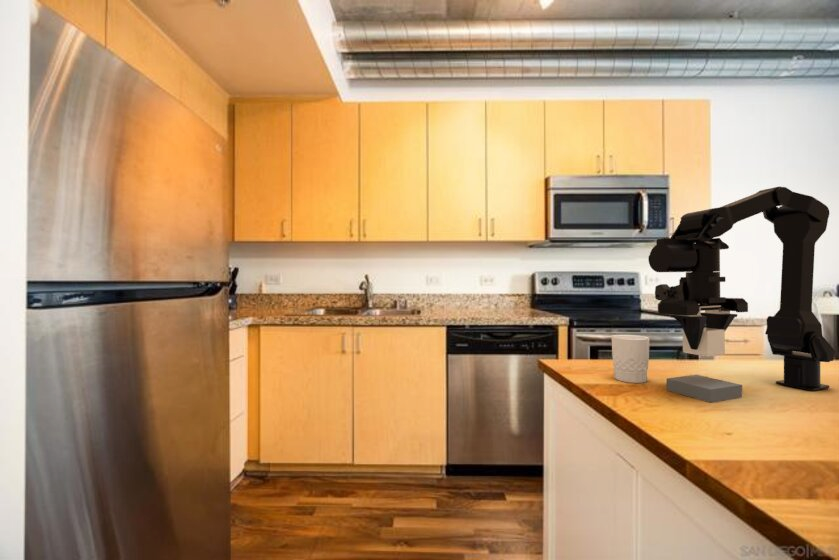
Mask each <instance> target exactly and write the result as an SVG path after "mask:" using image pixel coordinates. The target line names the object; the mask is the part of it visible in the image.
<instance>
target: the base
mask: <svg viewBox="0 0 839 560" xmlns="http://www.w3.org/2000/svg"><path fill="white" fill-rule="evenodd" d="M667 390H668V392H671V393H675V394H679V395H683V396H685V397H689V398H691V399H692V398H693V399H696V400H699V401H703V402H708V403H717V402H723V401H729V400H736V399H740V398H743V384H740V383H736V382H731V381H727V380H723V379H719V378H713V377H708V376H703V375H700V374H690V375H683V376H676V377H675V376H673V377H667V378H666V391H667Z"/></svg>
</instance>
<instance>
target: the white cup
mask: <svg viewBox="0 0 839 560" xmlns="http://www.w3.org/2000/svg"><path fill="white" fill-rule="evenodd" d="M650 341H651V340H650V337H648V336H643V335H636V334H613V335H611V350H612V351H611V352H612V353H611V354H612V356H611V357H612V364H613V365H612V366H613V376H614V379H615V380H617V381H620V382H624V383H631V384H632V383H633V384H643V382H644V383H646V382H647V381H648V370H649V360H650Z"/></svg>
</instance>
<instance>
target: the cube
mask: <svg viewBox="0 0 839 560" xmlns="http://www.w3.org/2000/svg"><path fill="white" fill-rule="evenodd" d="M725 333H726V331H725V330H723V329H713V328H706V327H704V329H703V333H702V337H701V340H700V344H699V346H698V349H697V350H694V349H691V348H690V345H689V343H688V340H687V338H686V335H685V333H684V330H683V329H682V353H685V354H692V355H697V356H702V357H703V356H704V357H708V358H709V357H717V356H724V355H726V347H725V346H726V344H725V343H726V341H725V339H726V338H725V335H726V334H725Z"/></svg>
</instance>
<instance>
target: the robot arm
mask: <svg viewBox="0 0 839 560" xmlns="http://www.w3.org/2000/svg"><path fill="white" fill-rule="evenodd" d="M761 213H762V215H763V218H764V219H765V220H767V221H768V222H770V223H771V224H772V225H773V231H774V232H773V233H774V234H775V235H776V237H777V238H778V239H779V240H780V242H781V243H782V255H781V257H782V258H781V260H782V261H781V263H782V264H781V280H780V281H781V282H780V298H779V299H780V301H779V304H780V305H779V309H778V310H777V312H776V313H775V314H774V315H769V316H767V318H766V330H765V333H764V334H765V335H767V337H766V338H767V341H768V343H769V347H770V350H771V353H772V355H774V356H782V357H783V379H782V380H775V384H778V385H783V386H786V387H791V388H796V389H800V390H801V389H802V390H804V391H805V390H806V391H811V392H813V391H814V392H815V391H819V390H824V389H825V390H826V389H829V388H830V385H828V384H823V383H821V362H823V363H831V362H833V361H834V359H835V355H836V350H835V349H834V348H833V347H832V346H831V344H830V343H829V342H828V341H827V339H826V338H825V337H824V336H823V327H822V323H821V322H820V320H819V319H818V318H817V317H816V315H815V314H814V312H813V307H812V306H813V293H814V292H813V290H814V269H815V249H816V248H815V247H816V243H817V242H818V240H819V239H821V236H823V234H825V232H826V230H827V226H828V222H829V217H830V209H829V206H827V205H826V204H824V203H823V202H821V201H820V200H819V199H817V198H815V197H814V196H812V195H809V194H808V195H807V194H803V193H799V192H795V191H793V190H791V189H789V188H788V187H786V186H775V187H771V188H770V187H769V188H766V189H761V190H759V191H757V192H756V193H753V194H751V195H749V196H746V197H743V198H740V199H738V200H735V201H733V202H731V203H728V204H725V205H722V206H719V207H714V208H708V209H704V210H699V211H693V212H688V213H685V214H683V215H682V216H681V217H680V221H679V224H678V225H677V227H676V229H674V232H673V233H672V235H671V236H670V237H664V238H663V237H662V238H657V239H656V242H655V243H656V245H654V246H653V247H652V249H651V250H650V252H649V255H648V264H649V266H650V268H651V269H652V270H653V271H654V272H656V273H685V276H683V277H682V276H680V279H679V280H678V281H679V284H677V285H674V286H669V284H667V283H665V284H664V283H662V284H661V283H660V284H658V285H656V286H655V288H654V289H655V290H654V295H655V296H654V297H655V299H656V301H659V302H658V303H657V314H662V315H669V317H670V318H674V319H675V320H676V321H677V322H678V323H679V324H680V326H681V328H682V331H683V330H684V333H685V335H686V338H687V340H688V343H689V345H690V348H691V349H694V350H697V349H698V346H699V344H700V340H701V337H702V333H703V329H704V328H713V329H723V330H725V332H726V331H727V329H728V328H729V326H730V325H731V323H732V322H733V321H734V319H735V318H737V317H738V313H748V312H749V303H748V302H747V301H746V299H744V298H743V297H741V298H739V297H726V296H724V297H723V296H721V283H725V282H726V276H721V256H720V255H721V252H720V251H721V250H728V249H730V248H729V247H730V246H729V245H728V244H727V243H725V242H724V241H723V240H722V239H721V238H720V237H721V236H723V235H724V234H726V233H727V232H728V231H731V230H732V229H733V226H734V225H735V224H736V223H738V222H740V221H743V220H746V219H748V218H751V217H753V216H755V215H758V214H761ZM701 311H702V312H701ZM703 311H704V312H703ZM731 312H736V313H731Z"/></svg>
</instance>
